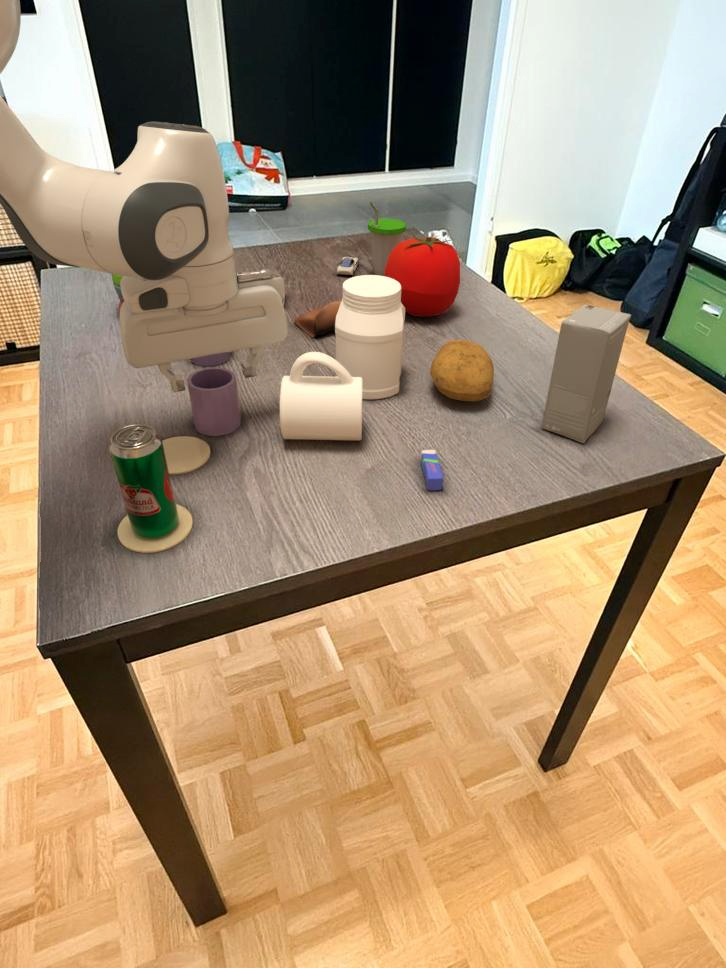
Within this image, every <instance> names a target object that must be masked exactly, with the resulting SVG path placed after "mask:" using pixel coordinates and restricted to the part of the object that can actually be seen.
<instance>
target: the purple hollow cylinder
mask: <svg viewBox="0 0 726 968" xmlns="http://www.w3.org/2000/svg"><path fill="white" fill-rule="evenodd" d="M229 359H230V352H225V353H220V354H214V355H209V356H203V357H198V358H192V359H190V361H191V362H192V363H193V364H195V365H197V366H201V367H216V366H218V365H222V364H224V363H226V362H227V361H228V360H229Z"/></svg>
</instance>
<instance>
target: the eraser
mask: <svg viewBox="0 0 726 968" xmlns="http://www.w3.org/2000/svg"><path fill="white" fill-rule="evenodd" d="M420 466H421V469H422V470H421V471H422V474H423V477H424V480H425V485H426V486H425V487H426V490H427V491H441V490H442V489H443V485H444V476H443V472H442V467H441V464H440V462H439V458H438V454H437V451H436V450H435V449H422V450H420Z"/></svg>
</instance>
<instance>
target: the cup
mask: <svg viewBox="0 0 726 968" xmlns="http://www.w3.org/2000/svg"><path fill="white" fill-rule="evenodd" d="M369 205H370V207H371V208H372V209H373V210H374V212H375V215H374V216H375V217H374V219H373V220H370V221H368V223H367V230H368V231H369V235H370V246H371V255H372V265H373V275H379V276H384V274H385V266H386V263H387V260H388V257H389V255H390V253H391V251H392V250H393V248H394V247H395V246H396V245H398V244H399V243H401V242H403V238H404V233H405V232H406V230H407V223H405V222H404V221H403V220H401V219H395V218H379V209H378V208H377V207H376V205H375V204H374V203H373V202H372V201H370V202H369Z"/></svg>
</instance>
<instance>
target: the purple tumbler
mask: <svg viewBox="0 0 726 968" xmlns="http://www.w3.org/2000/svg"><path fill="white" fill-rule="evenodd" d="M186 383H187V389H188V394H189V395H188V396H189V400H190V406H191V411H192V418H193V422H194V429H196V431H197V432H198V433H200V434H201V435H206V436H209V437H219V436H225V435H229V434H232V433H233V432H235V431H236V430H238V429H239V428H240V426H241V424H242V416H241V408H240V400H239V392H238V390H239V389H238V383H237V376H236V374H235V372H234V371H232V370H230V369H229V368H226V367H225V368H224V367H217V366H209V367H203V368H200V369H198V370H195V371H193V372H192V373H190V374H189V375H188V377H187V378H186Z"/></svg>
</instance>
